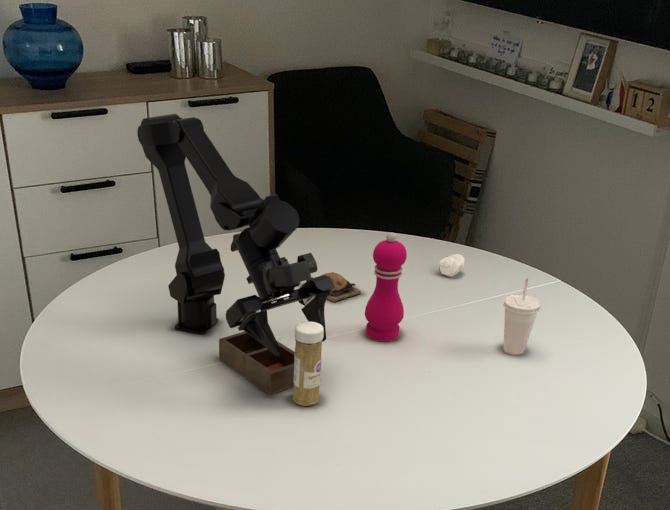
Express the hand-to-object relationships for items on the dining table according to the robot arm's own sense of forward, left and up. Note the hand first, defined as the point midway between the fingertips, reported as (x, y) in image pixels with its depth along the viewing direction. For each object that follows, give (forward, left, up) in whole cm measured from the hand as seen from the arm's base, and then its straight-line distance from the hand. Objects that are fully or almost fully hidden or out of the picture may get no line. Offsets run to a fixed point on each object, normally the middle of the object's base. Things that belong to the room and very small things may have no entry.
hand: (302, 348), depth 143 cm
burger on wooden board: (-8, +44, -9) cm, 45 cm away
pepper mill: (+7, +28, -9) cm, 30 cm away
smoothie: (+31, +31, -9) cm, 44 cm away
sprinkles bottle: (+1, -1, -9) cm, 9 cm away
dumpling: (+13, +63, -9) cm, 65 cm away
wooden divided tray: (-9, +6, -9) cm, 14 cm away
